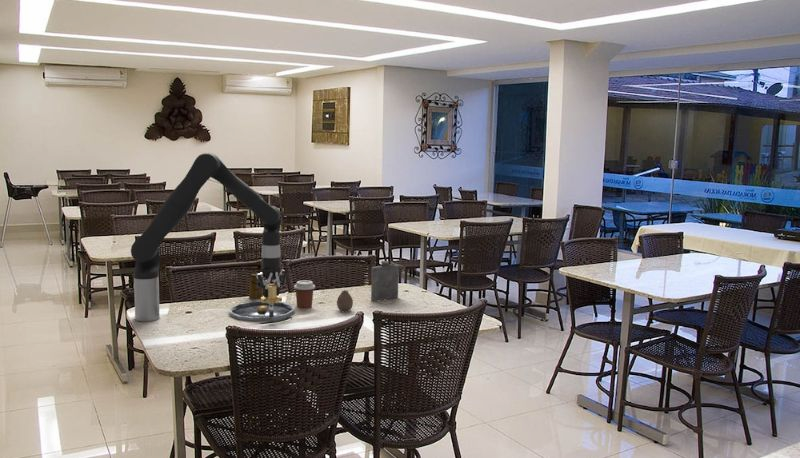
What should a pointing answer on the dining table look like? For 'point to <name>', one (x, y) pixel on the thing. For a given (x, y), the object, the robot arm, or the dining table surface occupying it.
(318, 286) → the dining table surface
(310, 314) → the dining table surface
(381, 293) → the flask
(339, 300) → the brown rounded lump
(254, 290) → the condiment
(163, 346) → the dining table surface
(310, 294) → the coffee cup
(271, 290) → the planet gear
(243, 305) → the tray
